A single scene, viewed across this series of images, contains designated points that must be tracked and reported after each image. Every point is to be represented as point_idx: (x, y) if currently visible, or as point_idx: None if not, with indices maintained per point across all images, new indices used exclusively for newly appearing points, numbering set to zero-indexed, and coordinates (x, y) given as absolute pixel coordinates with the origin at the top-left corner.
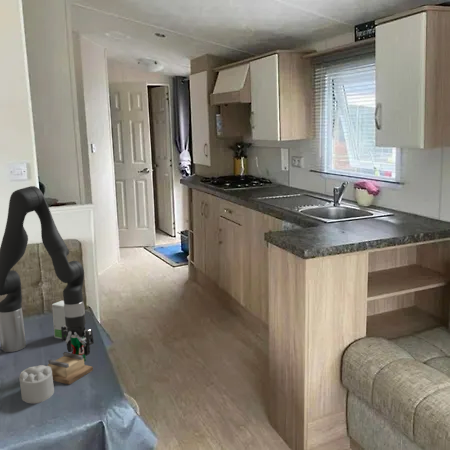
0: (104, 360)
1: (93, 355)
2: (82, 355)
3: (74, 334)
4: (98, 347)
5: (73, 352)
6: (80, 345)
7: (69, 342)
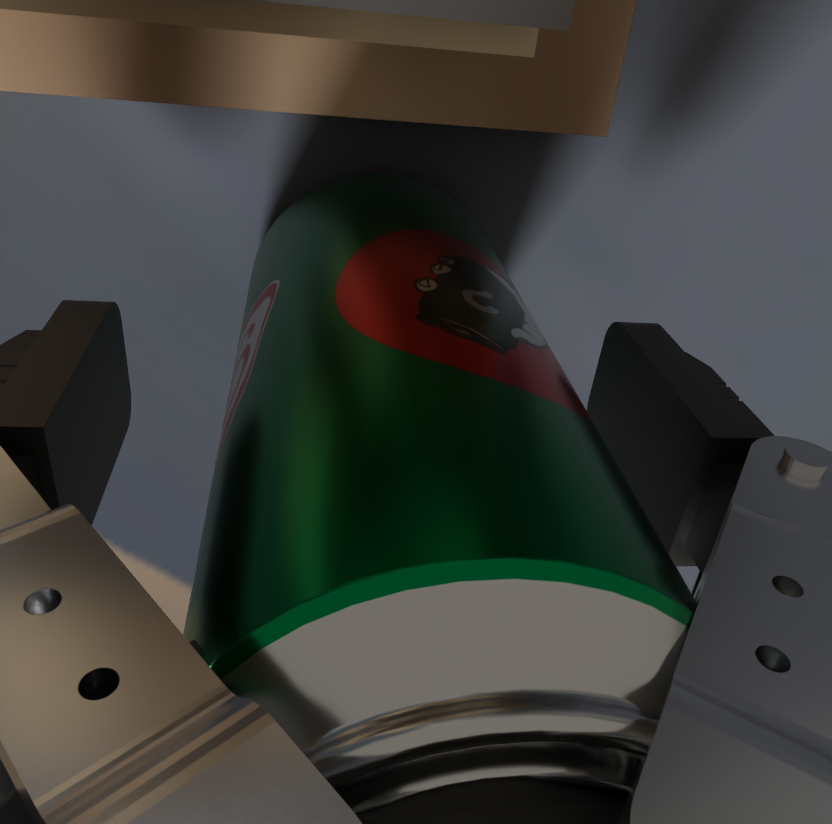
0: None
1: None
2: (241, 329)
3: (456, 792)
4: None
5: (416, 258)
6: (219, 460)
7: (710, 495)
